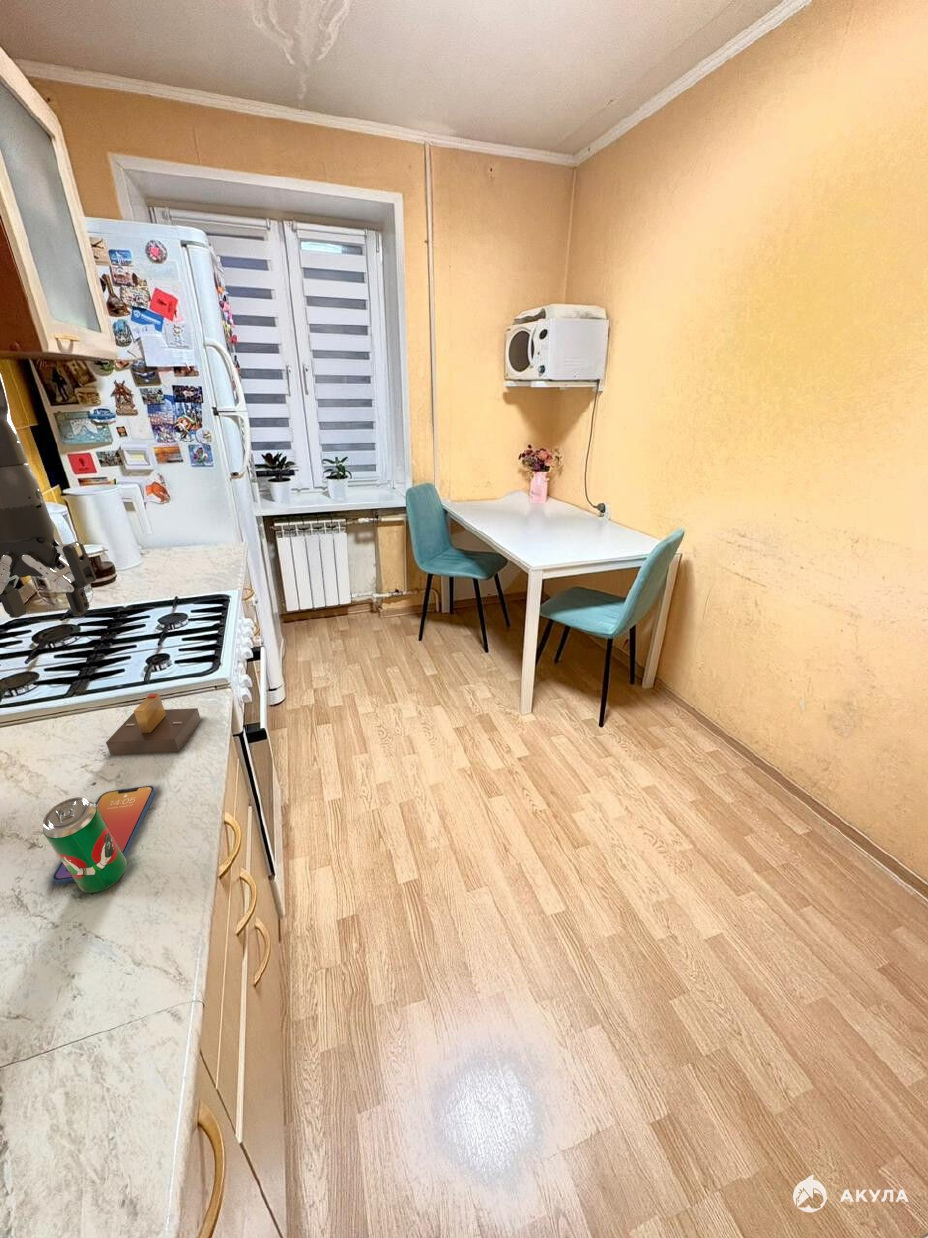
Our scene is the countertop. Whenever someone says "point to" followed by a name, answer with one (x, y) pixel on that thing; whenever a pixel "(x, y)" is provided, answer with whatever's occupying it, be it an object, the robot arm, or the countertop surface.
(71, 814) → the soda can
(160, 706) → the lock knob
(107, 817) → the smartphone
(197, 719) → the plate
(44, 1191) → the countertop surface
